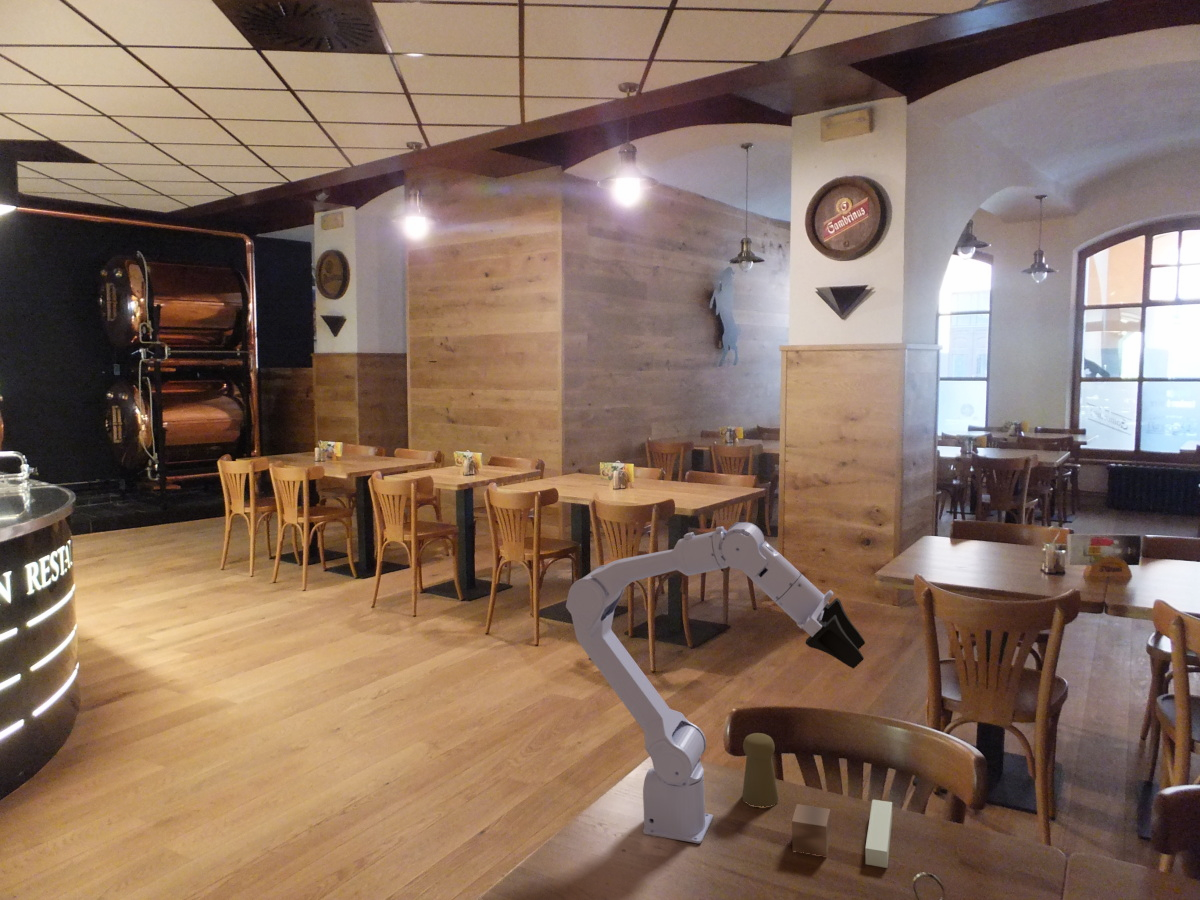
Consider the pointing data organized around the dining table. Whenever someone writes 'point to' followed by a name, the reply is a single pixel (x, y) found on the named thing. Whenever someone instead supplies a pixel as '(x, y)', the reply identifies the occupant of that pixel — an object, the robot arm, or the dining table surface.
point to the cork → (759, 771)
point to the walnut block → (811, 830)
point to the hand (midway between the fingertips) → (859, 655)
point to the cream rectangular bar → (879, 834)
